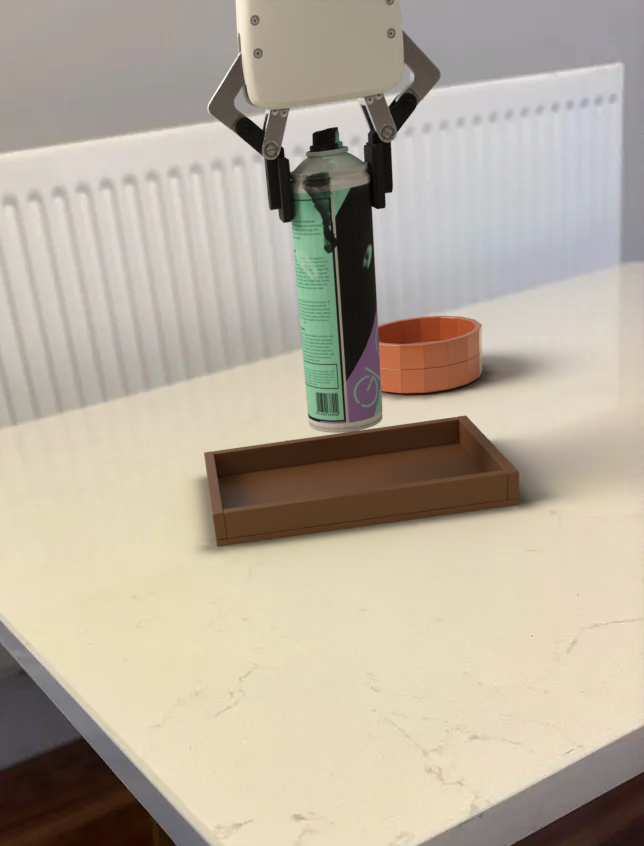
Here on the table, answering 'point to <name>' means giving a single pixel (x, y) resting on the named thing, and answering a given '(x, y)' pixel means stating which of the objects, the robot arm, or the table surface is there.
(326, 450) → the tray
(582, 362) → the table surface
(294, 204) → the spray can
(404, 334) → the bowl
